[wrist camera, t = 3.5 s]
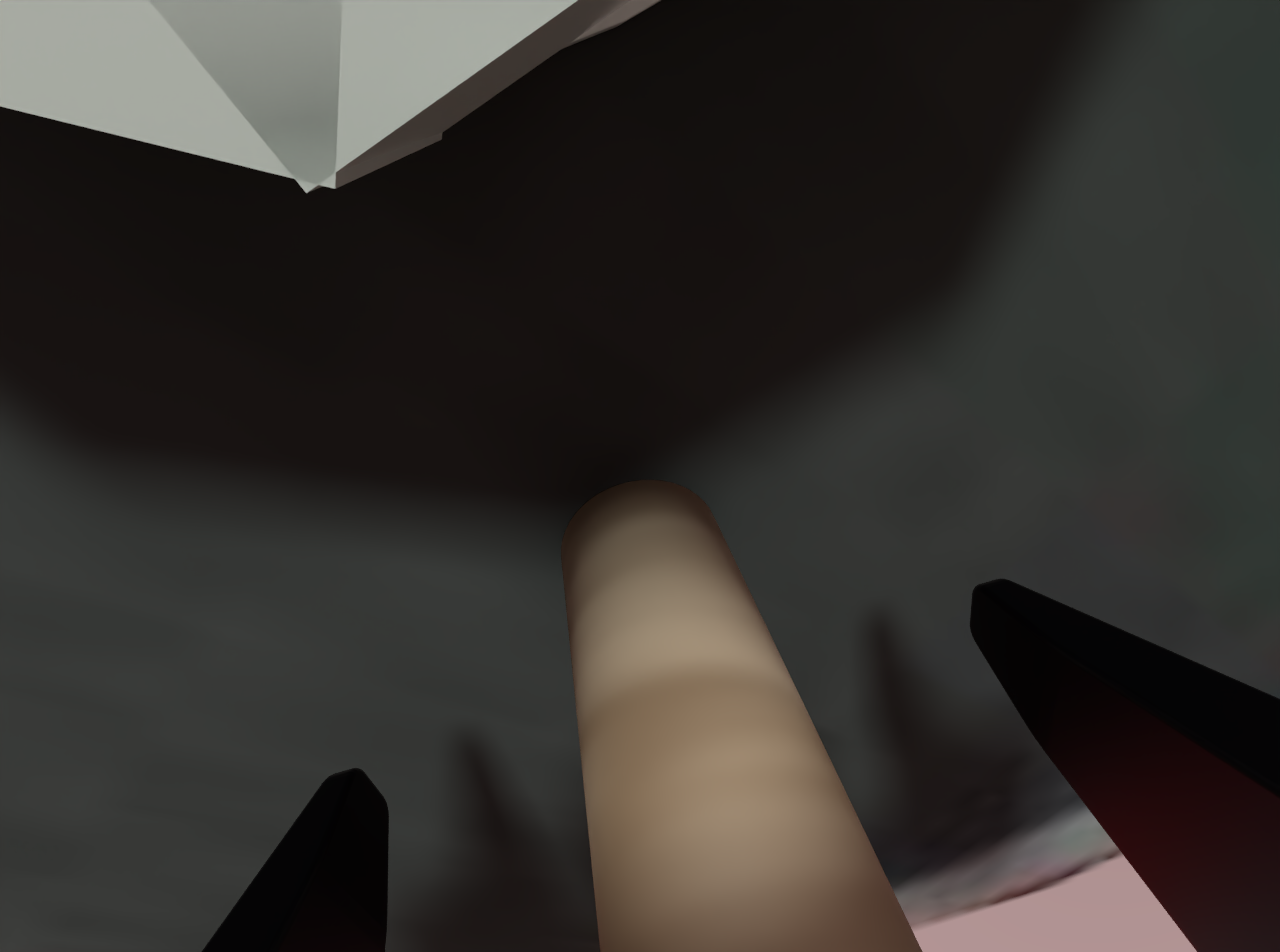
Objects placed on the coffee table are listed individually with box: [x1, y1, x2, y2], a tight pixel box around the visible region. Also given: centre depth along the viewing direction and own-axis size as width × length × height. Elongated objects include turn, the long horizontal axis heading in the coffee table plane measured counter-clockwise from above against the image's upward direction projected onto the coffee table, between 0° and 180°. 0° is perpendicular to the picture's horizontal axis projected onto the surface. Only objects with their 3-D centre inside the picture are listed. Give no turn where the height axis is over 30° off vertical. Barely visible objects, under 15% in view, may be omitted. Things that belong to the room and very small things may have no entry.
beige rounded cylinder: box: [561, 480, 922, 952], centre depth 8 cm, size 3×3×9 cm
